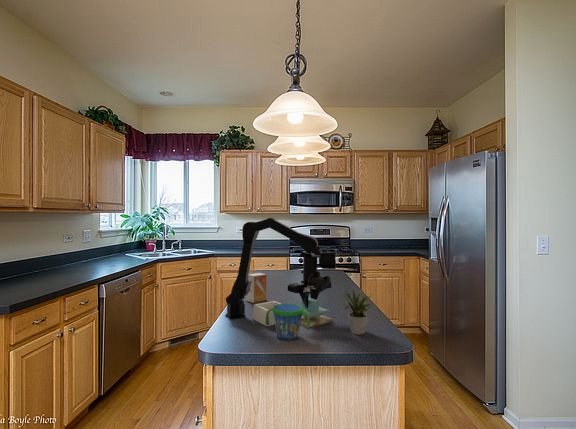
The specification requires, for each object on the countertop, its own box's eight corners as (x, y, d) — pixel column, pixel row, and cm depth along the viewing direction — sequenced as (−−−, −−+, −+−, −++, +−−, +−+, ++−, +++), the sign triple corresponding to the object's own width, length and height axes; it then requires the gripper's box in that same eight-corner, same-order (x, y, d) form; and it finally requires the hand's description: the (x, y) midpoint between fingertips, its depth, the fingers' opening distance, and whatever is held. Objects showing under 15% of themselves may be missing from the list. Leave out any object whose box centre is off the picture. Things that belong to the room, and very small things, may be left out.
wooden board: (306, 327, 124) (306, 324, 124) (288, 319, 134) (288, 316, 134) (332, 321, 132) (332, 318, 132) (312, 313, 141) (312, 311, 141)
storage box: (266, 326, 125) (266, 310, 125) (253, 319, 133) (253, 304, 133) (288, 321, 131) (288, 306, 131) (274, 315, 139) (274, 300, 139)
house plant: (326, 331, 120) (327, 286, 120) (346, 322, 130) (346, 281, 130) (362, 341, 110) (362, 292, 110) (380, 330, 121) (381, 286, 121)
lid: (308, 319, 125) (308, 304, 125) (291, 313, 134) (292, 298, 134) (328, 315, 131) (328, 300, 131) (311, 309, 140) (311, 294, 140)
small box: (253, 303, 158) (253, 276, 158) (245, 300, 163) (245, 274, 163) (266, 300, 164) (266, 274, 164) (258, 298, 168) (258, 272, 168)
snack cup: (313, 334, 117) (313, 305, 117) (303, 345, 107) (304, 314, 107) (273, 328, 123) (273, 301, 123) (260, 338, 113) (260, 308, 113)
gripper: (304, 273, 121) (304, 316, 121) (341, 269, 132) (341, 308, 132) (286, 269, 130) (286, 309, 130) (322, 265, 141) (322, 302, 141)
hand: (310, 307), depth 133 cm, fingers closed on lid, 3 cm apart
